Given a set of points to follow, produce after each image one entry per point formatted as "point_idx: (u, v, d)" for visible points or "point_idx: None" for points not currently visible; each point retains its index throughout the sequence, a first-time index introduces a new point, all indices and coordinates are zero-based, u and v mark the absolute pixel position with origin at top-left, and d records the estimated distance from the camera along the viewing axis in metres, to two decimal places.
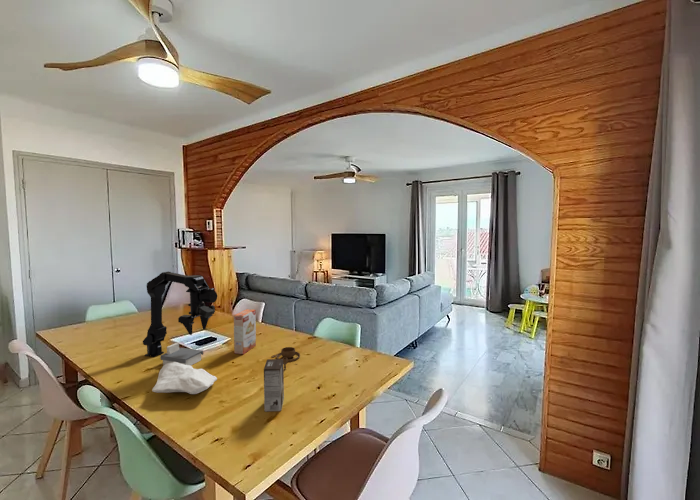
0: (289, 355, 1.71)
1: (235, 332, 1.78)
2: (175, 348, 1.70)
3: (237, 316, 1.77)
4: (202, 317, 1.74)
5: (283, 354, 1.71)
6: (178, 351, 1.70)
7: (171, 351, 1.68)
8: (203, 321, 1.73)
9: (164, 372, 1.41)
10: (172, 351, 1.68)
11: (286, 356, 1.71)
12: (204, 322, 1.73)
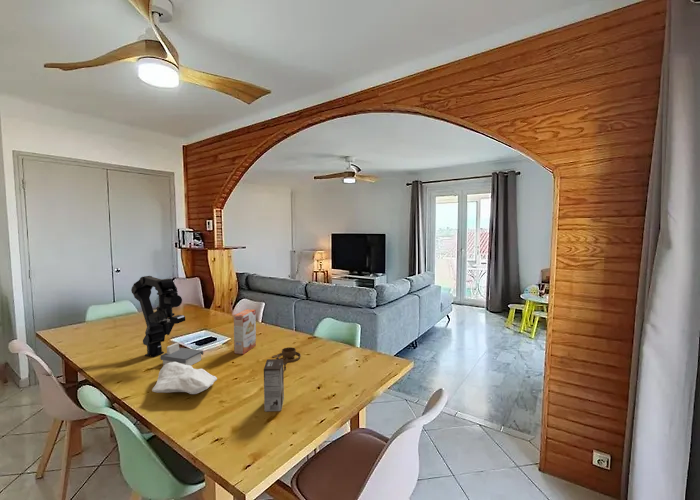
0: (289, 355, 1.71)
1: (235, 332, 1.78)
2: (175, 348, 1.70)
3: (237, 316, 1.77)
4: None
5: (283, 354, 1.71)
6: (178, 351, 1.70)
7: (171, 351, 1.68)
8: None
9: (164, 372, 1.41)
10: (172, 351, 1.68)
11: (286, 356, 1.71)
12: None
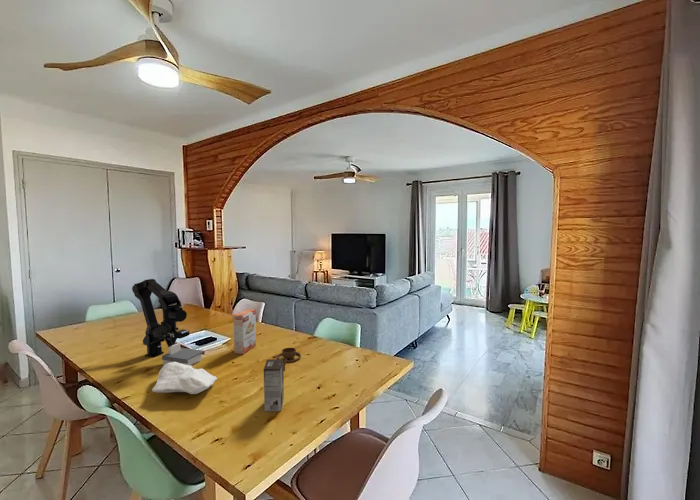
0: (289, 356, 1.70)
1: (235, 332, 1.78)
2: (177, 348, 1.70)
3: (237, 316, 1.77)
4: None
5: (283, 354, 1.71)
6: (180, 351, 1.70)
7: (173, 351, 1.67)
8: None
9: (164, 372, 1.41)
10: (174, 351, 1.68)
11: (286, 357, 1.70)
12: None
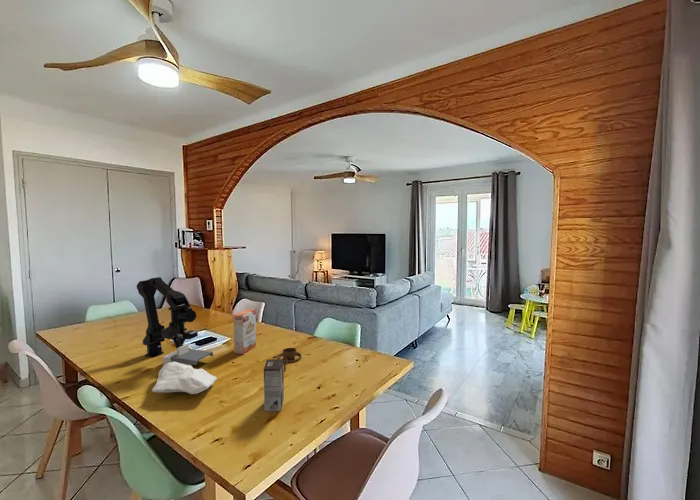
0: (290, 356, 1.70)
1: (235, 332, 1.78)
2: (185, 349, 1.68)
3: (237, 316, 1.77)
4: None
5: (284, 355, 1.70)
6: (188, 352, 1.68)
7: (181, 352, 1.66)
8: None
9: (164, 372, 1.41)
10: (182, 352, 1.66)
11: (287, 357, 1.70)
12: None
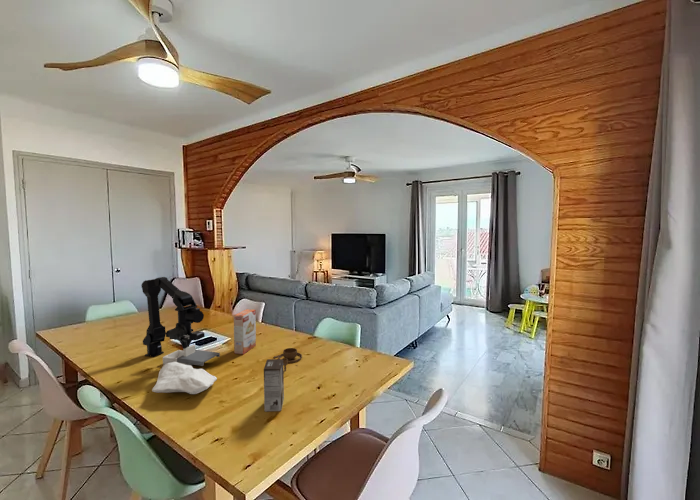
0: (291, 356, 1.69)
1: (235, 332, 1.78)
2: (191, 350, 1.67)
3: (237, 316, 1.77)
4: None
5: (285, 355, 1.70)
6: (194, 353, 1.67)
7: (188, 353, 1.65)
8: None
9: (164, 372, 1.41)
10: (189, 353, 1.65)
11: (288, 357, 1.70)
12: None
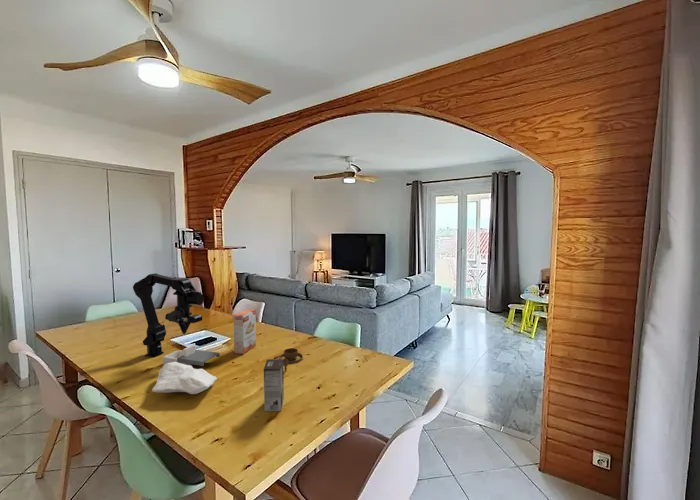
0: (291, 356, 1.69)
1: (235, 332, 1.78)
2: (191, 350, 1.67)
3: (237, 316, 1.77)
4: None
5: (285, 355, 1.70)
6: (194, 353, 1.67)
7: (188, 353, 1.65)
8: None
9: (164, 372, 1.41)
10: (189, 353, 1.65)
11: (288, 357, 1.69)
12: None
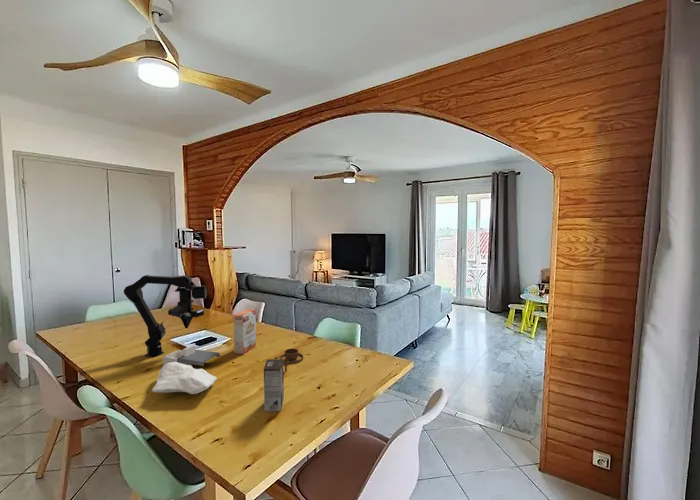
0: (292, 357, 1.69)
1: (235, 332, 1.78)
2: (191, 350, 1.67)
3: (237, 316, 1.77)
4: None
5: (286, 356, 1.69)
6: (194, 353, 1.67)
7: (188, 353, 1.65)
8: None
9: (164, 372, 1.41)
10: (189, 353, 1.65)
11: (289, 358, 1.69)
12: None
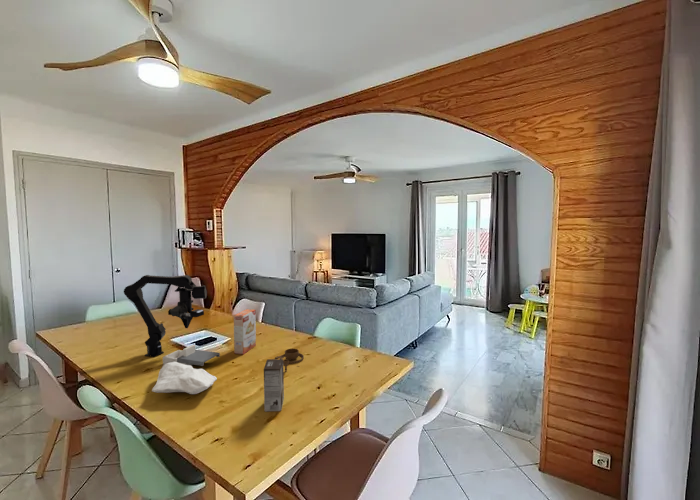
0: (292, 357, 1.69)
1: (235, 332, 1.78)
2: (191, 350, 1.67)
3: (237, 316, 1.77)
4: None
5: (286, 356, 1.69)
6: (194, 353, 1.67)
7: (188, 353, 1.65)
8: None
9: (164, 372, 1.41)
10: (189, 353, 1.65)
11: (289, 358, 1.69)
12: None
